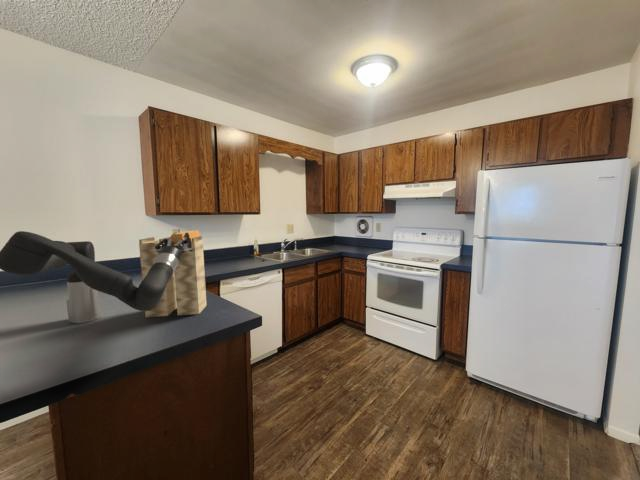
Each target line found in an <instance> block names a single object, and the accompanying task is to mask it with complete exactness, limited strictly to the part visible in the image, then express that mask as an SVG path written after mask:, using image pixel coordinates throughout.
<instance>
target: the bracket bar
mask: <svg viewBox="0 0 640 480" xmlns="http://www.w3.org/2000/svg"><path fill="white" fill-rule="evenodd" d="M174 233H175V234H174ZM174 233H173V234H171V235H172V243H177V242H178V241H179V240H182V239H183V237H184V235H185V233H188V234H189V236H190V238H191V241H192V238H195V237H199V236H200V230H199V229H198V230H187V231H186V230H185V231H182V232H180V231H179V232H174Z"/></svg>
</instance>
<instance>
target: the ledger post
mask: <svg viewBox="0 0 640 480" xmlns="http://www.w3.org/2000/svg"><path fill="white" fill-rule="evenodd" d="M191 242H192V248H193V251H189V250H187V251H185V252H184V253H183V254H182V257H181V259H180V261H179V264H178V266H177V268H176V270H175V271H174V275H175V288H176V302H177V308H176V312H177V314H176V315H177V316H188V315H189V316H191V315H199V314H201V312H202V311H204V309H205V308H206V307H207V289H206V275H205V274H206V273H205V271H206V270H205V257H204V256H205V255H204V243H203V242H204V241H203V235H201V236H200V235H199V237H195V238H192V241H191ZM187 244H188V243H187ZM187 244H186V245H185V247H186V246H187Z"/></svg>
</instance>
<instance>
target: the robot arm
mask: <svg viewBox="0 0 640 480" xmlns="http://www.w3.org/2000/svg"><path fill="white" fill-rule="evenodd" d="M175 233H176V232H173V234H175ZM169 237H170V238H169V239H163V238H162V239H163V240H162V241H161V242H160V243H158V244H157V245H156V246H155V249H156V251H157V252H159V253H158V255H157V257H156V258H155V260H154V262H153V265H152V267H151V268H150V270H149V272H148V274H147V275H146V277H145V278H144V279H143V280H142V279H141V282H140V283H139V285H138V286H136V285H134V284H133V278H132V276H131V275H128V274H126V273H124V272H121V271H118V270H115V269H113V268H111V267H108V266H105V265H104V264H101V263H98V262H96V258H95V257H96V254H95V253H96V252H95V246H94V244H93V242H91V241H89V240H88V241H87V240H86V241H68V242H65V241H61V240H53V239H50V238H48V237H46V236H43V235H41V234H38V233H37V234H36V233H35V232H31V231H21V230H20V231H16V232H15V233H13V235H11V237H10V238H9V239H8V240H7V242H6V243H5V244H4V246H3V247H2V248H1V250H0V270H1V271H3V272H5V273H9V274H12V275H18V276H33V275H34V276H35V275H38V274H41V273H43V272H45V271H47V270H50V269H57V268H62V267H66V266H69V267H70V268H71V269H72V270H73V272H71V273H68V274H66V278H65V279H66V286H67V293H68V294H67V295H68V299H66V310H67V317H68V323H72V324H85V323H89V322H92V321H95V320H98V319H99V318H101V309H100V299H99V298H100V297H99V292H101V293H103V294H106V295H109V296H112V297H114V298H116V299H118V300H119V301H120V302H122V303H123V304H125V305H127V306H128V307H130V308H132V309H134V310H136V311H141V312H145V311H150V310H152V309H154V308H155V307H156V306H157V305H158V303H159V301H160V299H161V297H162V295H163V293H164V290H165V288H166V286H167V283H168V282H169V280H170V278H171V276H172V274H173V272H174V271H175V270H176V268H177V266H178V264H179V261H180V259H181V257H182V254H183V253H184V252H185V251H187V250H189V251H193V248H192V242H191V238H190V236H189V234H188V233H185V235H184V237H183V239H182V240H179V241H178V242H177V243H172V234H171V236H169ZM164 243H165V244H164ZM187 243H188V244H187ZM186 244H187V246H186V247H185V245H186Z"/></svg>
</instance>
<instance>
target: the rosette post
mask: <svg viewBox="0 0 640 480" xmlns="http://www.w3.org/2000/svg"><path fill="white" fill-rule="evenodd" d="M170 237H171V236H167V237H164V238H160V239H157V240H155V237H154V236H152V237H147V238H142V239H139V240H138V241H139V243H138V247H139V248H138V249H139V258H140V259H139V261H140V269H141V271H140V272H141V281H142V280H143V279H144V278H145V277H146V275H147V274H148V272H149V270H150V268H151V267H152V265H153V262H154V260H155V258H156V257H157V255H158V253H159V252H157V251H156V249H155V246H156V245H157V244H158V243H160V242H161V241H162V240H163V239H169V238H170ZM164 244H165V243H164ZM175 310H177V302H176V288H175V275H174V272H173V274H172V276H171V278H170V280H169V282H168V283H167V286H166V288H165V290H164V293H163V295H162V297H161V299H160V301H159V303H158V305H157V306H156V307H155V308H154V309H152V310H150V311H144V313H145V314H144V315H145V318H153V317H155V318H157V317H169V316H170V315H171V314H172V313H173V312H174V311H175Z"/></svg>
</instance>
